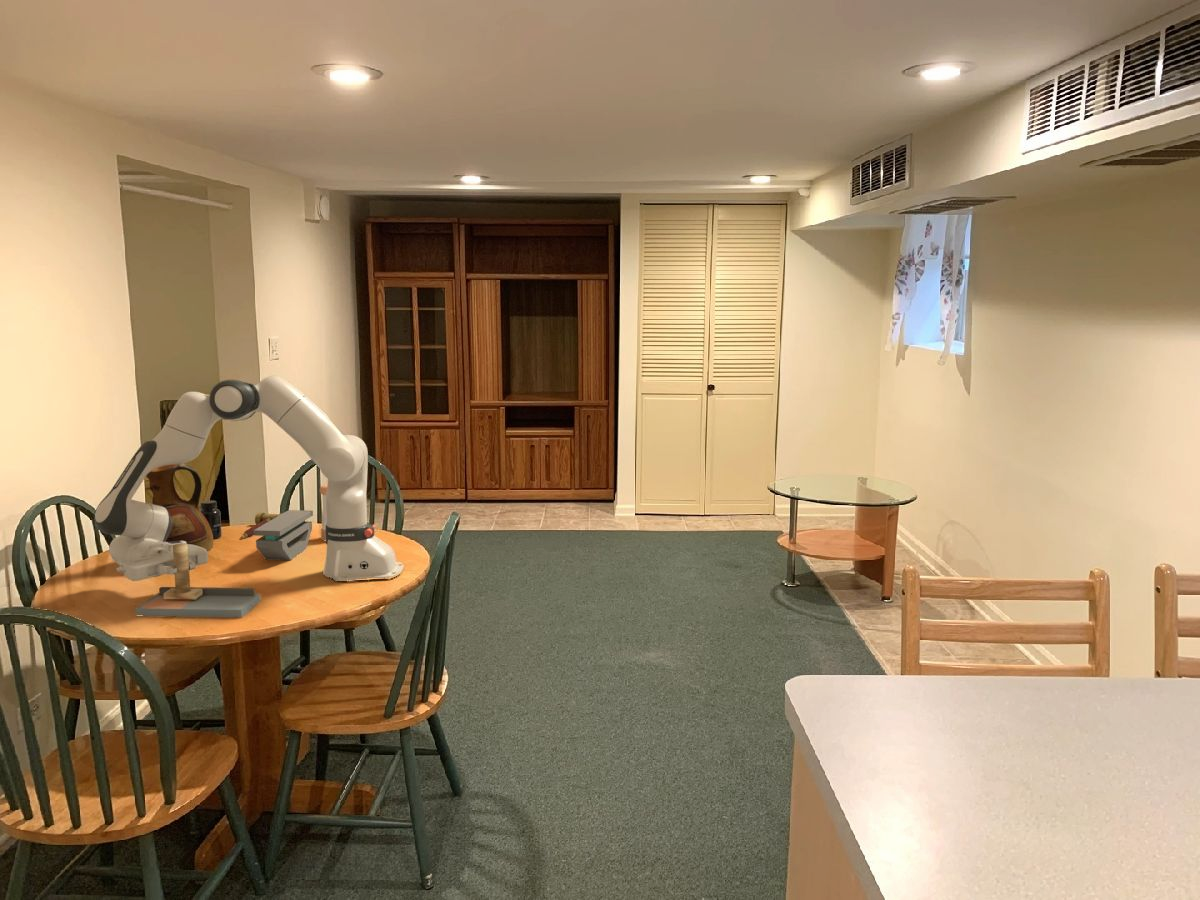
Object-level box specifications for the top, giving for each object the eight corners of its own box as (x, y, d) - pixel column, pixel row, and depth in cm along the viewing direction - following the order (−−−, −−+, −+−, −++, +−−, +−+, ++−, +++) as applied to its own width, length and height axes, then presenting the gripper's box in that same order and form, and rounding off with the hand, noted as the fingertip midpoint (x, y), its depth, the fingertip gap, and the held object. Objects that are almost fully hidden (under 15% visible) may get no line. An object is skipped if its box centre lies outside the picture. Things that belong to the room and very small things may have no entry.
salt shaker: (317, 538, 287) (315, 481, 284) (339, 534, 292) (336, 478, 288) (326, 543, 282) (324, 484, 278) (348, 539, 286) (346, 482, 283)
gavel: (256, 531, 284) (227, 529, 285) (257, 544, 285) (228, 543, 286) (287, 512, 304) (260, 510, 305) (288, 524, 305) (261, 523, 306)
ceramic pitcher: (131, 559, 262) (123, 460, 257) (201, 547, 276) (195, 453, 271) (150, 574, 248) (142, 470, 243) (223, 561, 261) (217, 462, 256)
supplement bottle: (220, 539, 284) (218, 503, 282) (197, 541, 282) (195, 504, 280) (223, 534, 291) (220, 499, 289) (200, 535, 289) (198, 500, 287)
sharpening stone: (290, 543, 281) (288, 510, 280) (314, 543, 281) (312, 510, 279) (255, 566, 257) (253, 530, 255) (281, 567, 256) (279, 531, 255)
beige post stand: (202, 594, 224) (199, 543, 222) (195, 599, 221) (192, 547, 218) (171, 593, 224) (168, 542, 222) (163, 599, 221) (160, 547, 218)
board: (260, 600, 228) (259, 586, 227) (241, 617, 216) (240, 602, 215) (160, 599, 227) (158, 585, 227) (135, 616, 216) (134, 601, 215)
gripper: (111, 556, 219) (142, 566, 212) (188, 539, 236) (219, 547, 228) (113, 580, 220) (143, 591, 213) (190, 561, 237) (220, 571, 230)
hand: (183, 568), depth 221 cm, fingers closed on beige post stand, 3 cm apart
